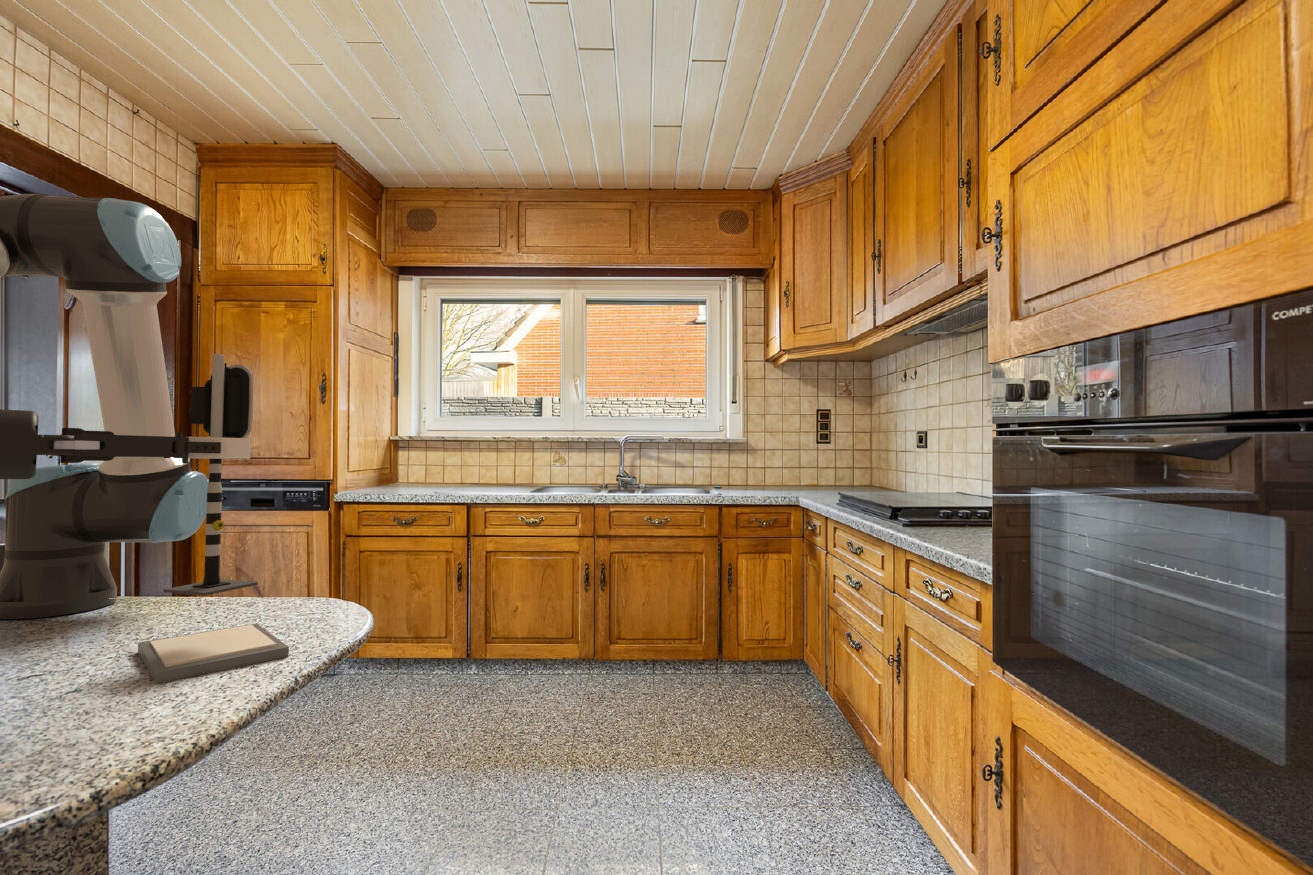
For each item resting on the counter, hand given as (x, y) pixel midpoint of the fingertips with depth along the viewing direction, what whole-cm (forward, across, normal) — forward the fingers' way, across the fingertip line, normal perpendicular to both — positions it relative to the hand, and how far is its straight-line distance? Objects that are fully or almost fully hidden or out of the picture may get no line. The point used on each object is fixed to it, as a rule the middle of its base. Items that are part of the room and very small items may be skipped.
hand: (246, 448), depth 81 cm
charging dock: (-3, +1, -26) cm, 26 cm away
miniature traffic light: (-3, +1, -18) cm, 18 cm away
